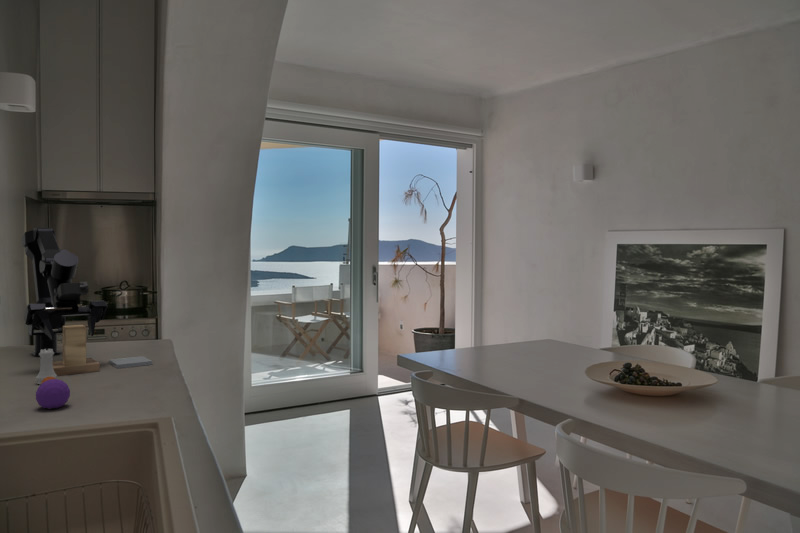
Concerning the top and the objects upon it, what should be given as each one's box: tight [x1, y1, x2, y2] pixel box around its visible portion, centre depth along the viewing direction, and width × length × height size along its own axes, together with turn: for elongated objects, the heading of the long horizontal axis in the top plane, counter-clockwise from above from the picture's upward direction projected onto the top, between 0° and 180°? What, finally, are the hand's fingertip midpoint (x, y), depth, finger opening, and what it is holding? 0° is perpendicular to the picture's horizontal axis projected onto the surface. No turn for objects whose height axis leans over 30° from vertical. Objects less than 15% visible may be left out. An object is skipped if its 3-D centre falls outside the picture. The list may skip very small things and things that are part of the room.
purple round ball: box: [35, 376, 71, 410], centre depth 123 cm, size 6×6×20 cm
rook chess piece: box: [35, 349, 58, 386], centre depth 138 cm, size 4×4×8 cm
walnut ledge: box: [52, 357, 101, 377], centre depth 152 cm, size 10×11×2 cm
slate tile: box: [108, 355, 153, 369], centre depth 162 cm, size 9×9×1 cm
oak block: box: [62, 324, 87, 367], centre depth 149 cm, size 4×4×10 cm
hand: (73, 336), depth 150 cm, fingers open, 9 cm apart
